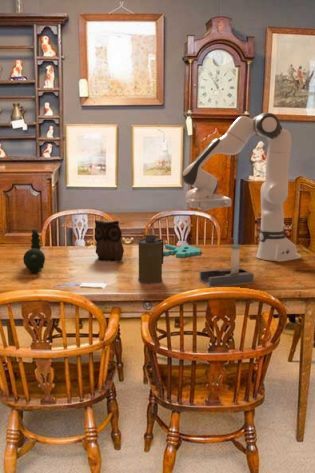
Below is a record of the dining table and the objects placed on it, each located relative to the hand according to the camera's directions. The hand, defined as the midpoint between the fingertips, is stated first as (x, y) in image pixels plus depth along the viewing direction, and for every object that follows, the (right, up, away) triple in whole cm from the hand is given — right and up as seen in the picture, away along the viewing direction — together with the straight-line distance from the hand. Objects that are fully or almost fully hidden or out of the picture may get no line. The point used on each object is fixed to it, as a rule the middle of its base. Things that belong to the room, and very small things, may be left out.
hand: (217, 205), depth 230 cm
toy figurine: (-83, -30, +5) cm, 89 cm away
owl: (-50, -26, +25) cm, 61 cm away
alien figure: (-14, -23, +38) cm, 47 cm away
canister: (-30, -33, -11) cm, 46 cm away
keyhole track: (+2, -33, -13) cm, 36 cm away
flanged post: (+6, -33, -11) cm, 35 cm away
